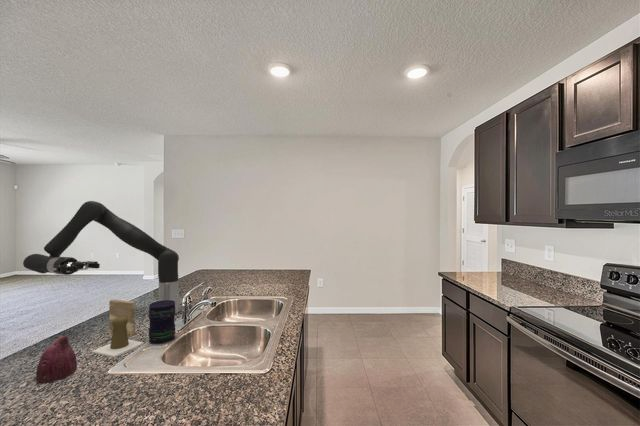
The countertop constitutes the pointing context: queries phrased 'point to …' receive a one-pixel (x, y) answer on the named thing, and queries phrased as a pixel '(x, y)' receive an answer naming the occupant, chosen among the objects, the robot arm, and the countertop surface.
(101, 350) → the coaster
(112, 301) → the maple board
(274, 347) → the countertop surface
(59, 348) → the vegetable
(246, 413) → the countertop surface
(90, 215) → the robot arm
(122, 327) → the cork
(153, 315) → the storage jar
